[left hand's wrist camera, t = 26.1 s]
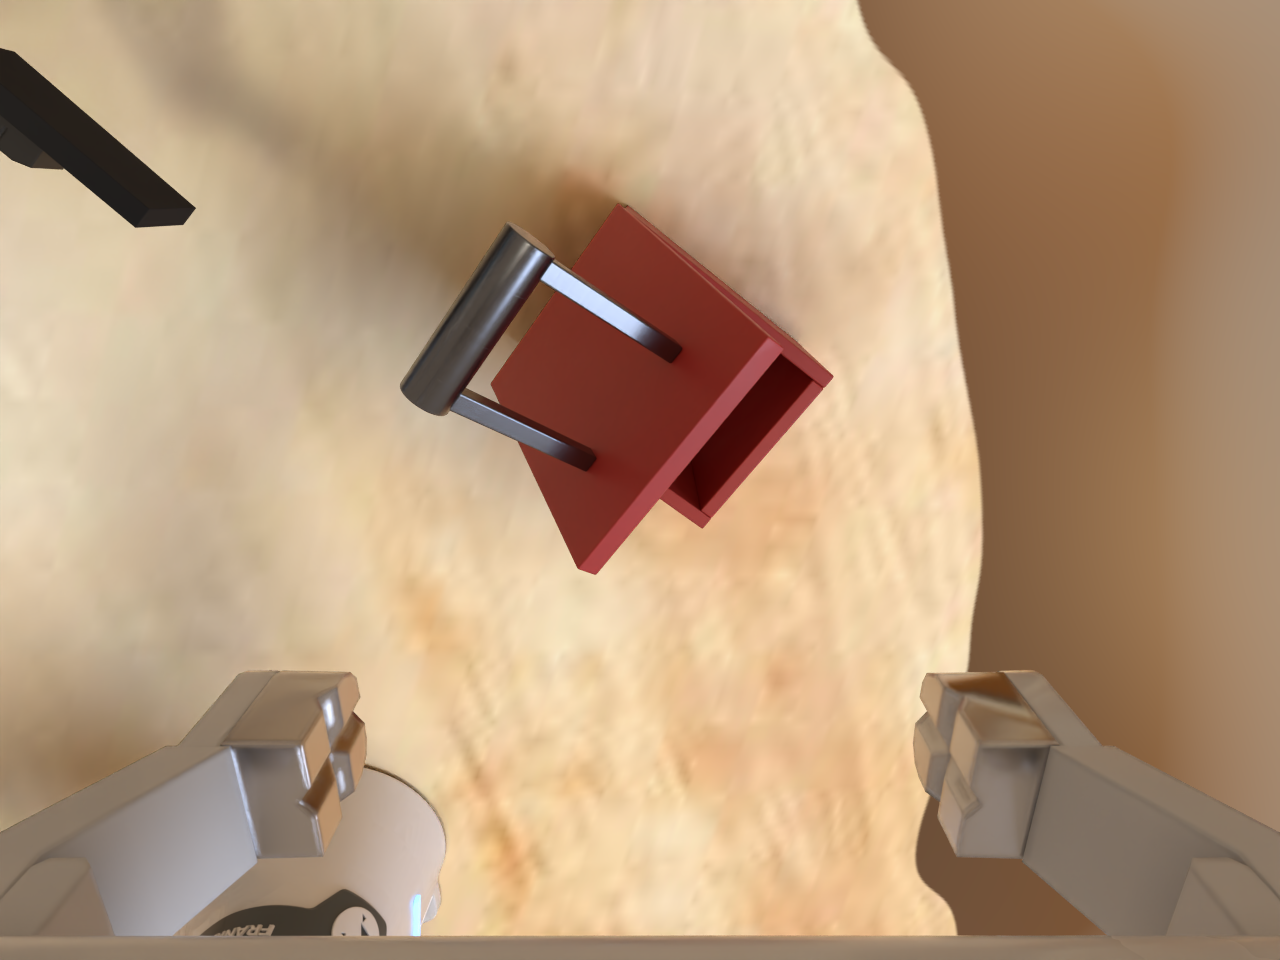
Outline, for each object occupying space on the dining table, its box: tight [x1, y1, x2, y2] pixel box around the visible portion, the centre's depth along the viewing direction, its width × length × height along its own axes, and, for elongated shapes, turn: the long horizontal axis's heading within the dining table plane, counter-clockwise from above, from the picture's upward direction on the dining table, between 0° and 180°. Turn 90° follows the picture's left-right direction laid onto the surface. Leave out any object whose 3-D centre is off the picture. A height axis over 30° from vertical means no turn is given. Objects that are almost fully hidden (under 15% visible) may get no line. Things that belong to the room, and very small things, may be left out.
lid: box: [400, 204, 784, 575], centre depth 27 cm, size 13×10×8 cm
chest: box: [625, 205, 833, 528], centre depth 40 cm, size 13×10×9 cm
